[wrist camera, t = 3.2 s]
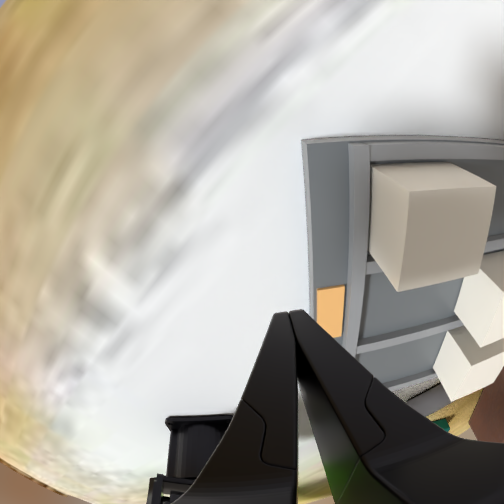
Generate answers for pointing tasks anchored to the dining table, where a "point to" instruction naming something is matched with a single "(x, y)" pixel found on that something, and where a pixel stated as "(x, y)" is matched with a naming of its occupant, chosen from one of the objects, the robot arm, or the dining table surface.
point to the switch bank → (363, 264)
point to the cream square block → (427, 222)
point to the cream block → (484, 300)
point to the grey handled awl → (430, 401)
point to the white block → (467, 363)
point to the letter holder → (490, 412)
